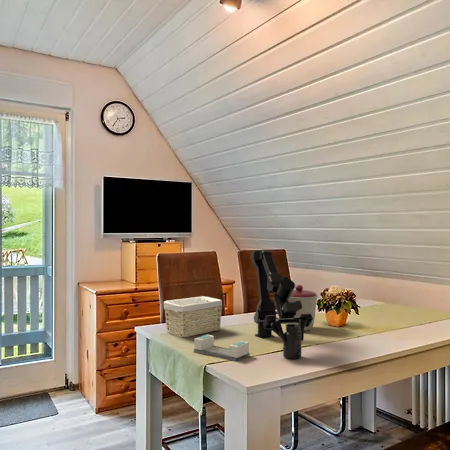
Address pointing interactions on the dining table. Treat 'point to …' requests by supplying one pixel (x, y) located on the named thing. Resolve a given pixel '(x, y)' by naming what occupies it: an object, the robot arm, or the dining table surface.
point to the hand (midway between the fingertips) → (293, 340)
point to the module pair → (234, 349)
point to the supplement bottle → (292, 342)
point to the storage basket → (192, 315)
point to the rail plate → (219, 353)
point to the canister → (304, 303)
